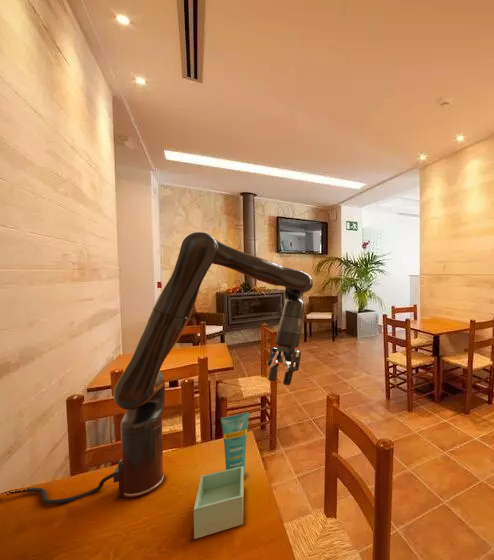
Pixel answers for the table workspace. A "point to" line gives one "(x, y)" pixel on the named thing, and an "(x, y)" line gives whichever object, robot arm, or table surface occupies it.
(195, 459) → the table surface
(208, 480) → the open pale green box
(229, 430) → the tube
